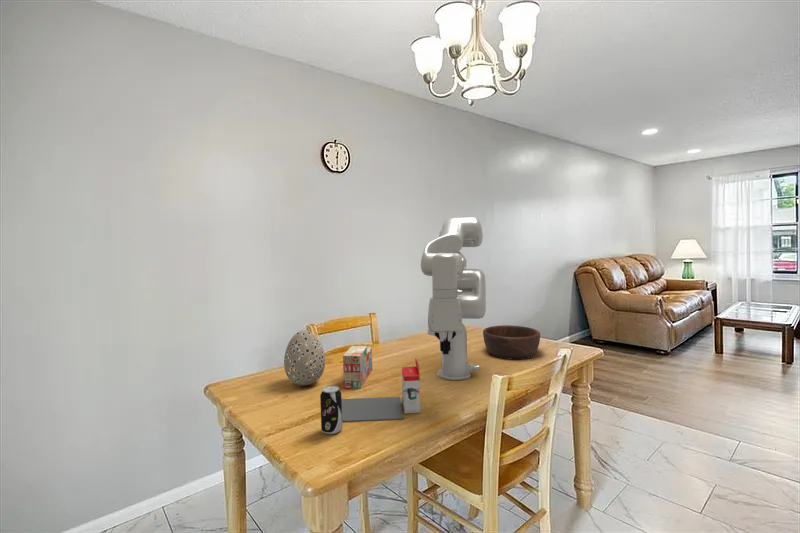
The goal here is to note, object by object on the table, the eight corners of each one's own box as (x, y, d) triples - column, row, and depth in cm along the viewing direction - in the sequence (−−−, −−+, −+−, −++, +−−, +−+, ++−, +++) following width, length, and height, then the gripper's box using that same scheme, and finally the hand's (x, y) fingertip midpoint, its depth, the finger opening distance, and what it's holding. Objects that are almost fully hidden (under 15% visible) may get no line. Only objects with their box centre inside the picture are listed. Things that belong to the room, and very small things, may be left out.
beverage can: (345, 432, 108) (344, 389, 107) (326, 438, 105) (324, 394, 104) (337, 424, 113) (336, 383, 112) (318, 429, 110) (316, 387, 109)
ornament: (300, 375, 155) (298, 325, 153) (333, 379, 149) (331, 327, 148) (276, 389, 141) (274, 333, 140) (311, 394, 136) (309, 336, 134)
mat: (400, 397, 131) (400, 396, 131) (403, 419, 115) (403, 418, 115) (339, 400, 130) (339, 399, 130) (334, 422, 114) (334, 421, 114)
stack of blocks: (357, 369, 161) (356, 339, 161) (372, 369, 161) (372, 339, 160) (343, 388, 140) (342, 354, 140) (361, 389, 140) (360, 355, 139)
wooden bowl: (473, 349, 188) (473, 327, 187) (518, 344, 195) (518, 323, 195) (502, 364, 164) (502, 340, 163) (552, 358, 171) (552, 334, 171)
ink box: (402, 402, 127) (401, 357, 126) (417, 401, 128) (416, 357, 127) (404, 414, 119) (403, 366, 118) (420, 413, 119) (420, 365, 118)
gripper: (466, 292, 125) (466, 349, 126) (419, 293, 125) (420, 350, 125) (471, 295, 118) (472, 356, 119) (421, 296, 117) (422, 357, 118)
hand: (445, 353), depth 122 cm, fingers closed
